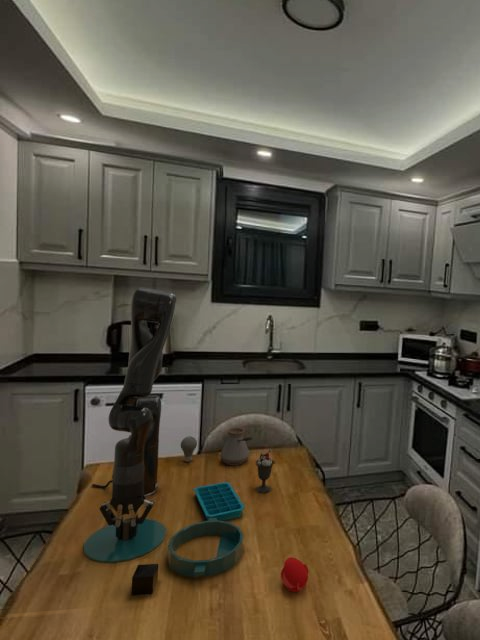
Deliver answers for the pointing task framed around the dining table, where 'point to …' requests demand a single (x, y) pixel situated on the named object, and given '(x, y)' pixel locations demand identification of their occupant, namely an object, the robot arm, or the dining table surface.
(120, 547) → the lid
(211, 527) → the teal tabbed round part
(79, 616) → the dining table surface
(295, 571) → the red rounded oval piece
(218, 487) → the ice cube tray
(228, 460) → the coffee pot
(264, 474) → the sundae
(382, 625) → the dining table surface
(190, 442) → the light bulb
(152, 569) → the block
